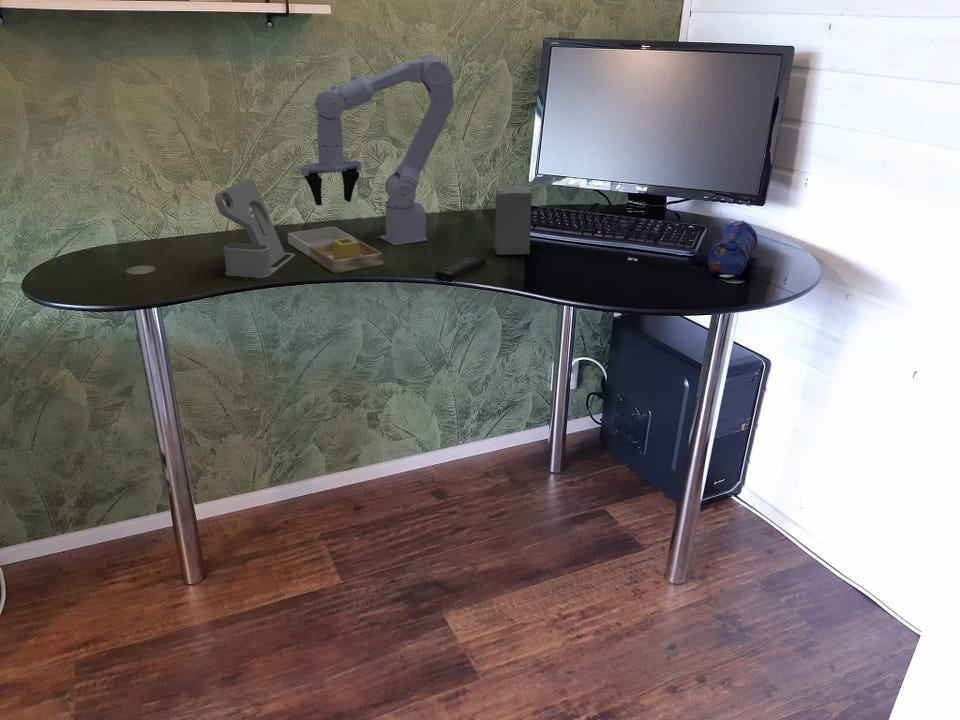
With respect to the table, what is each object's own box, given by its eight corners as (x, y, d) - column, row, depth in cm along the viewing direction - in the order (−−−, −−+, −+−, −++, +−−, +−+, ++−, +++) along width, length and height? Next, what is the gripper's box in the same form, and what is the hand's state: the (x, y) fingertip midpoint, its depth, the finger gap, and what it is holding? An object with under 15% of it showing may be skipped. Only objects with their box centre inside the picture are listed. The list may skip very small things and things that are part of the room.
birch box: (358, 251, 183) (358, 239, 182) (383, 266, 174) (383, 253, 173) (310, 259, 177) (310, 247, 176) (334, 275, 168) (333, 261, 167)
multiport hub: (486, 268, 177) (486, 258, 176) (451, 285, 166) (451, 275, 165) (470, 264, 179) (470, 255, 178) (434, 281, 168) (434, 271, 167)
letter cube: (350, 256, 179) (350, 237, 177) (359, 261, 175) (359, 242, 173) (333, 259, 176) (332, 239, 174) (341, 264, 173) (340, 245, 171)
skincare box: (527, 249, 190) (531, 184, 183) (529, 258, 183) (534, 191, 177) (493, 248, 190) (495, 183, 183) (494, 257, 183) (497, 190, 176)
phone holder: (266, 280, 163) (258, 196, 156) (221, 276, 165) (211, 193, 157) (297, 256, 179) (291, 178, 171) (255, 252, 180) (248, 175, 173)
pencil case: (719, 252, 194) (725, 214, 189) (754, 257, 190) (762, 219, 186) (704, 277, 175) (710, 236, 171) (743, 284, 172) (751, 242, 168)
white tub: (334, 238, 193) (334, 226, 192) (357, 251, 184) (356, 238, 183) (288, 245, 186) (287, 233, 185) (309, 258, 177) (308, 246, 176)
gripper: (308, 150, 172) (312, 210, 178) (366, 145, 180) (368, 202, 186) (295, 145, 178) (299, 203, 183) (352, 140, 185) (354, 196, 191)
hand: (333, 202), depth 185 cm, fingers open, 7 cm apart
